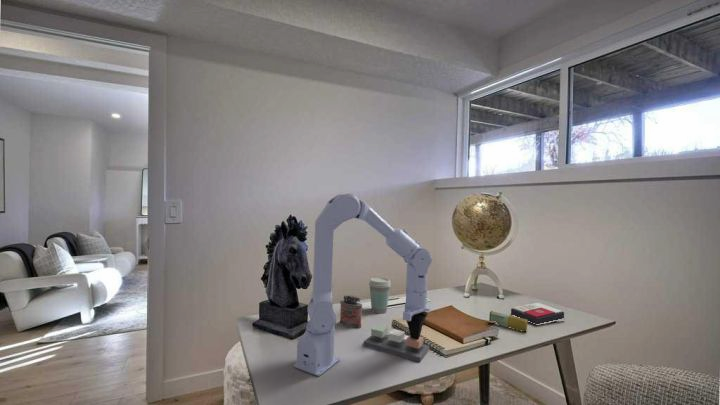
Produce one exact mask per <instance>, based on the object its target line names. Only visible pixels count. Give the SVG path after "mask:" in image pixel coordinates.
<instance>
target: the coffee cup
mask: <svg viewBox="0 0 720 405" xmlns="http://www.w3.org/2000/svg"><path fill="white" fill-rule="evenodd" d="M368 285H369V292H370V293H369V296H370V307H371V312H373V313H375V314H385V313H387V311H388V304H389V297H390V291H391V290H390V289H391V286H392V284H391V280H390V279H389V278H386V277H372V278H370V280H369V282H368Z"/></svg>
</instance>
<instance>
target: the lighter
mask: <svg viewBox="0 0 720 405" xmlns="http://www.w3.org/2000/svg"><path fill="white" fill-rule="evenodd" d="M339 305H340V312H339V313H340V315H339V316H340V317H339V325H341V326H344V327H347V328H353V329H361V328H362V308H363V304H362V303H361V297H360V296H356V295H353V294H349V295H347V294H344V295H343V300H340V302H339Z"/></svg>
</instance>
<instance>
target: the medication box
mask: <svg viewBox="0 0 720 405" xmlns="http://www.w3.org/2000/svg"><path fill="white" fill-rule="evenodd" d="M489 321H496V322H497V324H498V325H497V326H499V325H502V326H506V327H511V328H514V329H518V330H522V331H527V332H528V325H529V323H528V320H527V319H523V318H518V317H514V316H511V314H505V313H501V312H497V311H494V310H491V311H489ZM502 326H501V327H502ZM506 327H505V328H506ZM514 329H513V330H514ZM518 330H517V331H518ZM522 331H521V332H522Z"/></svg>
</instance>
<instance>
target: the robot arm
mask: <svg viewBox="0 0 720 405" xmlns="http://www.w3.org/2000/svg"><path fill="white" fill-rule="evenodd" d="M352 219H358V220H362V221H365V223H367V224H368V225H369V226H371V227H372V228H373V229H374V230H375V231H377V232H378V233H379V234H380V235H382V236H383V237H385V243H386V245H387V247H389V248H390V249H391V250H392V251H394V252H395V253H396V254H397V255H399V256H400V258H402V259H403V260H404V262H405V263H406V278H405V279H406V282H405V283H406V284H405V285H406V286H405V292H406V293H405V303H404V310H403V312H402V320H403V321H406V323H407V327H408V332H409V336H410V337H411V338H412V339H416V340H418V339H419V337H421V333H422V329H423V326H424V323H425V319H426V318H427V316H428V312H430V311H431V306H429V305H428V298H427V297H428V293H427V292H428V273H429V272H428V270H429V267H430V266H431V264H432V262H433V258H432V257H431V254H430V252H429V251H428V249H426V248H423V247H421V246H420V242H419V241H418V240H414V239H413V238H412V237H410V236H409V235H408V231H407V230H406V229H402V228H393V227H392V226H391V225H390V224H389V223H388V222H387V221H386V220H385V219H383V217H381V216H380V215H379V214H378V213H377V212H376V211H375V210H374V209H373V208H372V207H371V206H369V205H368V204H367V203H366V202H365V201H363V200H361V199H359V198H358V197H357V196H356V195H354V194H353V193H352V194H351V193H344V194H337V195H336V196H334V197H333V198H331V199H330V200H328V201H327V203H326V205H325V207H323V209H322V211H321V212H320V214H318V217H317V218H316V220H315V222H314V241H313V243H314V244H313V245H314V246H313V271H312V272H313V276H312V278H313V279H312V290H311V298H310V300H309V302H308V305H307V310H306V311H307V315H308V316H309V320H308V322H307V324H306V327H305V328H306V329H305V332H304V333H303V335H302V336H300V337H299V338H298V341H297V344H296V348H297V349H296V363H294V365H293V366H294V368H296V369H299V370H301V371H304V372H307V373H309V374H311V375H314V376H316V377H320V376H321V375H323V374H324V373H325V372H326V371H328V370H330V369H331V367H333V366H334V365H335V364H337V363H338V362H339V361H340V360H341V357H340V356H337V355H335V328H336V327H335V326H336V322H337V316H336V313H335V311H334V308H333V305H334V303H333V294H332V288H333V287H332V284H333V261H334V260H333V255H334V253H333V252H334V231H335V230H336V229H337V228H338V227H339V226H340V225H342V224H343V223H345V222H348V221H350V220H352Z"/></svg>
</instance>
